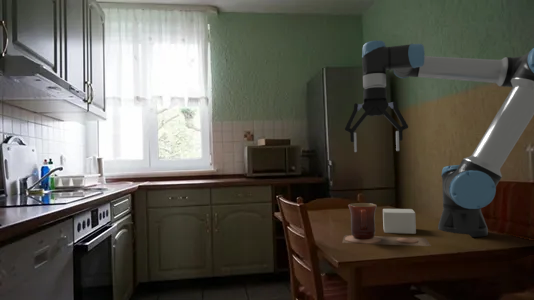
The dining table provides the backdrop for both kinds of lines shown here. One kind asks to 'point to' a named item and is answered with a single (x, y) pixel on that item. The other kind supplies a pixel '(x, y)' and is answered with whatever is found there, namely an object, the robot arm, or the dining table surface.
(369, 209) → the mug
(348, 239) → the board
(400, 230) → the white rectangular block
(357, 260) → the dining table surface
